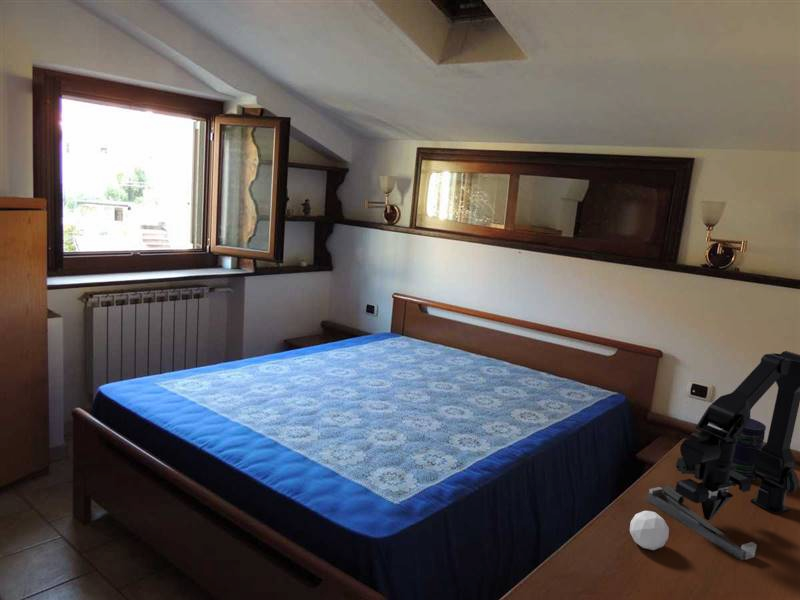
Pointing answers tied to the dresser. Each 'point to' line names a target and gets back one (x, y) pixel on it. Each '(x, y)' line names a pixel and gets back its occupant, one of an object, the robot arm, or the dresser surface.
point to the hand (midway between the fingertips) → (707, 519)
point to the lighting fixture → (684, 507)
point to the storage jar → (748, 447)
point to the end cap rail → (700, 527)
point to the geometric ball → (649, 530)
